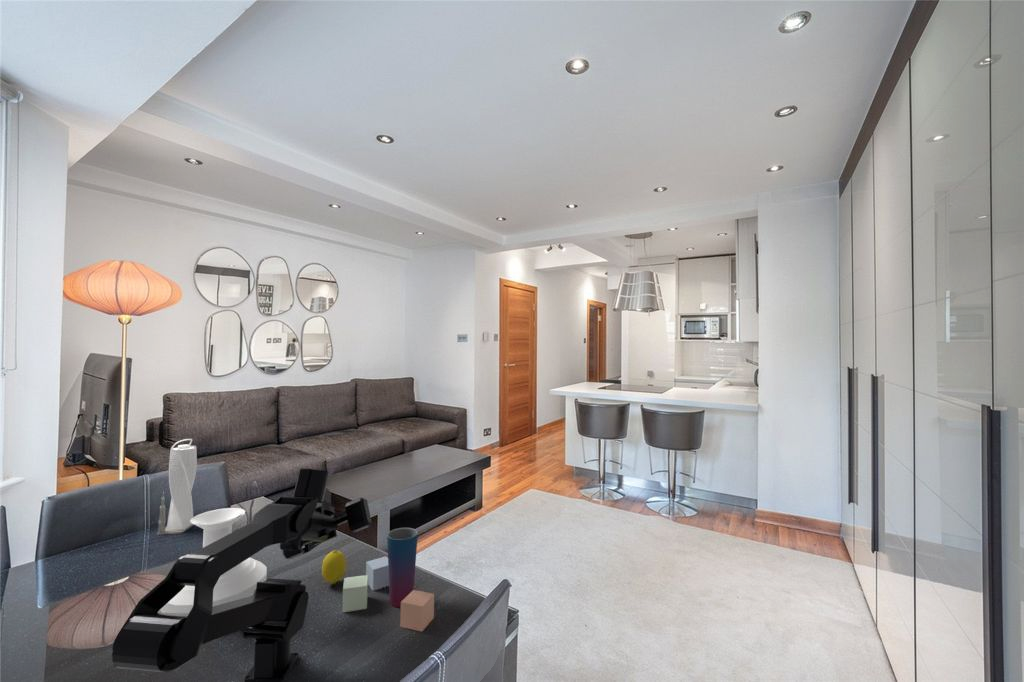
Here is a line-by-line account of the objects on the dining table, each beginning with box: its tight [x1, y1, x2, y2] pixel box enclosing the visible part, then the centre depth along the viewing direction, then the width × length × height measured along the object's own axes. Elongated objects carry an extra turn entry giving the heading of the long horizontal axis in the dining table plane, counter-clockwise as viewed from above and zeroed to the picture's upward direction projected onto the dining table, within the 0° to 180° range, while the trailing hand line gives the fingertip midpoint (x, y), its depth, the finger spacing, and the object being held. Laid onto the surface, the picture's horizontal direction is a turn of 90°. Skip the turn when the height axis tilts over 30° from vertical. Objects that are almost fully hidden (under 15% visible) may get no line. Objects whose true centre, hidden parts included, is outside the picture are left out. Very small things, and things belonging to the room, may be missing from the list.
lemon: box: [321, 549, 347, 585], centre depth 105 cm, size 6×6×8 cm
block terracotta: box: [399, 589, 435, 633], centre depth 90 cm, size 5×5×5 cm
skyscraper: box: [156, 438, 198, 536], centre depth 139 cm, size 8×8×28 cm
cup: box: [386, 527, 419, 608], centre depth 98 cm, size 7×7×15 cm
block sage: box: [342, 574, 369, 613], centre depth 96 cm, size 5×5×5 cm
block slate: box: [365, 555, 389, 592], centre depth 106 cm, size 5×5×5 cm
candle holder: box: [159, 507, 268, 613], centre depth 97 cm, size 20×20×19 cm
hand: (343, 530), depth 101 cm, fingers open, 9 cm apart
